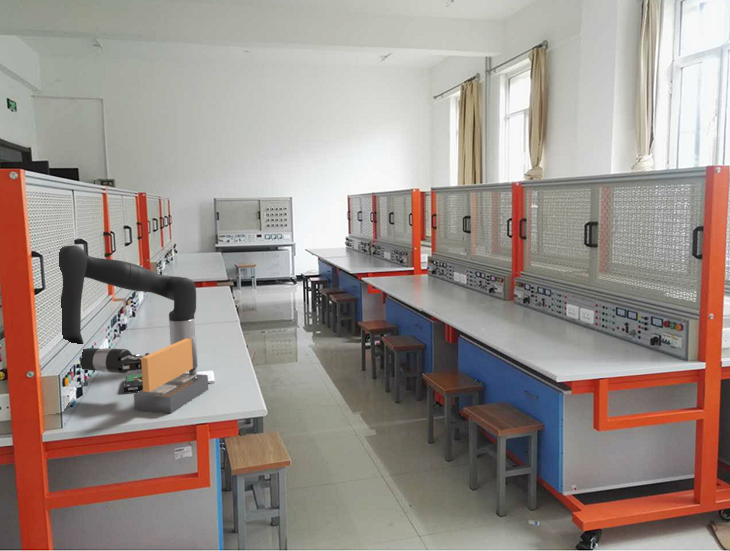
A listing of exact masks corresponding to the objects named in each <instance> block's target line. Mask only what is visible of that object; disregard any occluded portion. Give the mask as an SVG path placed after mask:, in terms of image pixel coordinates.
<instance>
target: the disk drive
mask: <svg viewBox="0 0 730 551" xmlns="http://www.w3.org/2000/svg"><path fill="white" fill-rule="evenodd" d="M124 379H125V380H124V384H123V394H126V393H125V392H133V393H137V392H136V391H141V390H143V380H142V372H141V373H135V374H134V373H133V374H126V376H125V378H124Z"/></svg>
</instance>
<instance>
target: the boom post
mask: <svg viewBox="0 0 730 551" xmlns="http://www.w3.org/2000/svg"><path fill="white" fill-rule="evenodd" d="M196 372H197V368H193V369H191V370H189V371H188V374H197V373H196Z"/></svg>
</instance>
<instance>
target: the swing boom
mask: <svg viewBox="0 0 730 551" xmlns="http://www.w3.org/2000/svg"><path fill="white" fill-rule="evenodd" d="M196 345H197V336H196V337H186V339H184V340H181V341H179V342H177V343H174V344H172V345H170V344H169V345H167V346H165V347H163V348H161V349H158V350H156V351H153V352H152V353H149V355H147V356H145V355H143V356H144V357H142V358H141V363H142V370H141V373H142V380H143V392H150V391H152V390H154V389H156V388H158V387H160V386H161V385H163V384H165V383H167V382H169V381H171V380H173V379H174V378H176V377H178V376H180V375H182V374H184V373H185V374H187V373H188V372H189V370H191V369H193V368H196V369H197V368H198V351H197V350H198V348H197V347H196Z"/></svg>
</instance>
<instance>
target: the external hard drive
mask: <svg viewBox="0 0 730 551" xmlns="http://www.w3.org/2000/svg"><path fill="white" fill-rule="evenodd" d="M196 373H197V374H200V375H208V383H213V384H215V375H214V373H215V372H214V371H213V370H204V371H196Z"/></svg>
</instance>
